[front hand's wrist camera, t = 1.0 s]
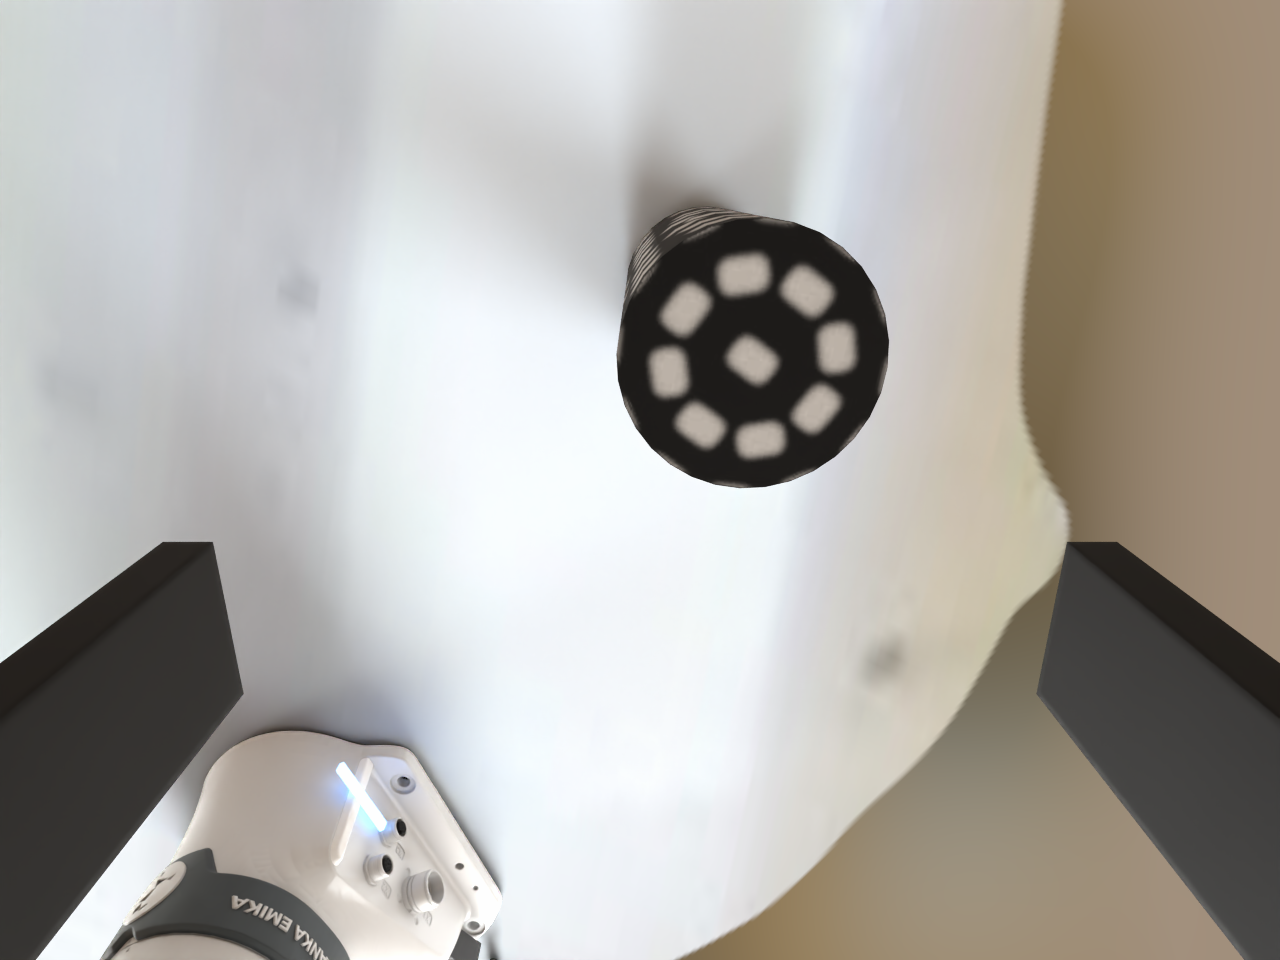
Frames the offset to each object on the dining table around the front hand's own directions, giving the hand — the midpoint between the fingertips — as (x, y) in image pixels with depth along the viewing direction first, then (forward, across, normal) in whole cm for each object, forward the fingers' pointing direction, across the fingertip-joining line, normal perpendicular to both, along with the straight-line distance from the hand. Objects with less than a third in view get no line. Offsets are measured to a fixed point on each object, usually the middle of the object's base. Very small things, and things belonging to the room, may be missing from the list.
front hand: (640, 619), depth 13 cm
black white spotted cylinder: (+23, +3, +1) cm, 23 cm away
